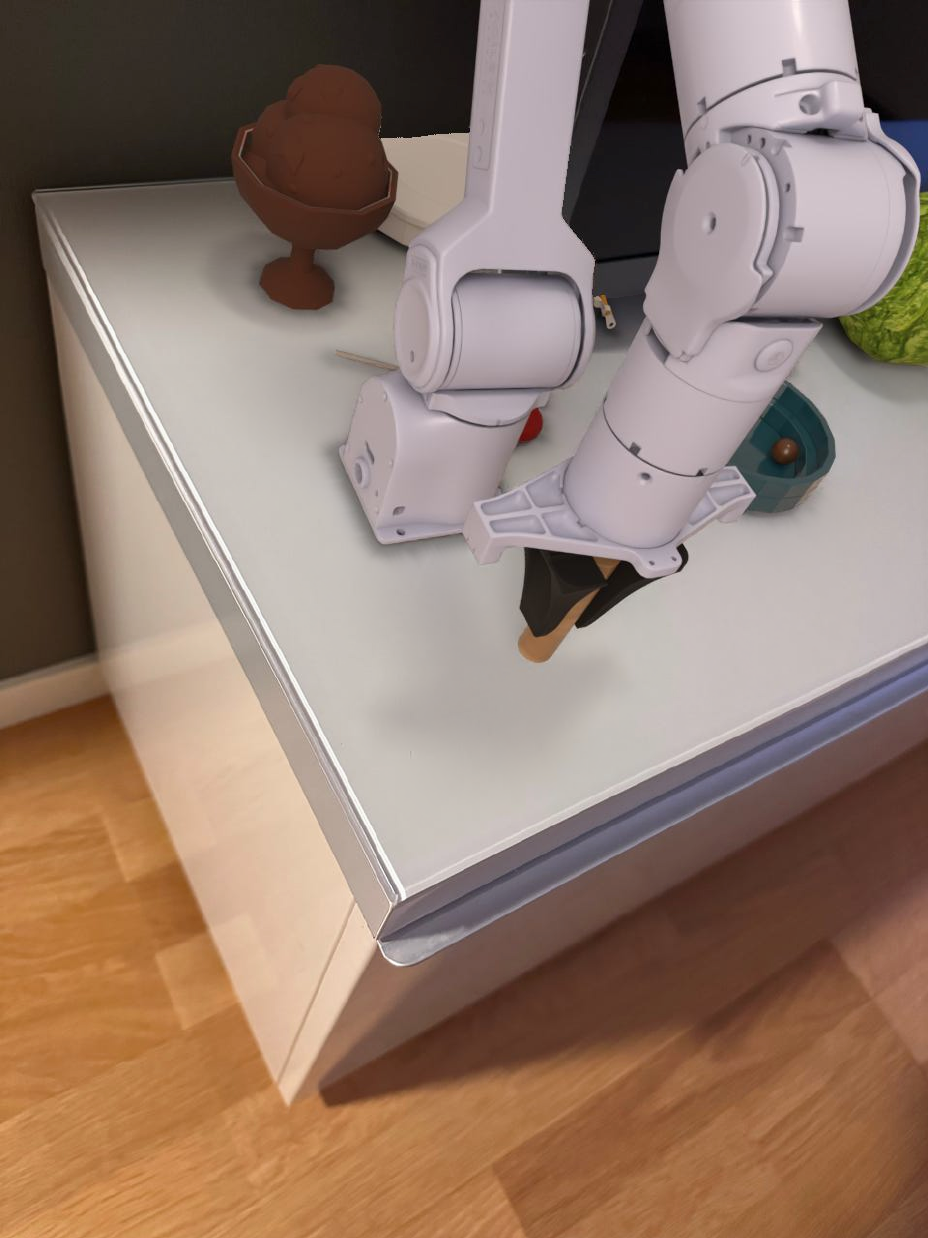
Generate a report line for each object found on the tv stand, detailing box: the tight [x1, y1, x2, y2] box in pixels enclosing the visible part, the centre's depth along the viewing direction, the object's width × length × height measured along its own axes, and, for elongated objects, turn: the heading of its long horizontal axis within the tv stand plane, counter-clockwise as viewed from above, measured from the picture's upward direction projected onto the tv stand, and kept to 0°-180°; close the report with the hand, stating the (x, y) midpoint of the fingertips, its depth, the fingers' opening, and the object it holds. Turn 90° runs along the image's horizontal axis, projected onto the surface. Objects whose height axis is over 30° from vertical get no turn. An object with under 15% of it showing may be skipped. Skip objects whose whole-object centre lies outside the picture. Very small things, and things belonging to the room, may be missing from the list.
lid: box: [377, 133, 469, 248], centre depth 81 cm, size 17×20×3 cm
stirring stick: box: [517, 556, 621, 664], centre depth 48 cm, size 2×2×9 cm
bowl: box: [725, 379, 837, 514], centre depth 71 cm, size 13×13×4 cm
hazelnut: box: [771, 438, 799, 465], centre depth 72 cm, size 2×2×2 cm
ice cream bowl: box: [230, 63, 399, 311], centre depth 64 cm, size 11×11×15 cm
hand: (552, 616), depth 50 cm, fingers closed on stirring stick, 2 cm apart
